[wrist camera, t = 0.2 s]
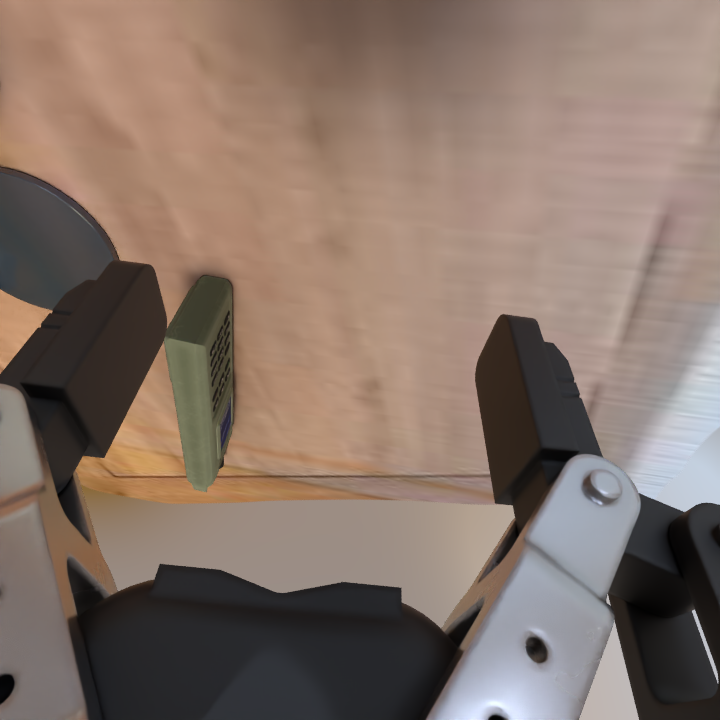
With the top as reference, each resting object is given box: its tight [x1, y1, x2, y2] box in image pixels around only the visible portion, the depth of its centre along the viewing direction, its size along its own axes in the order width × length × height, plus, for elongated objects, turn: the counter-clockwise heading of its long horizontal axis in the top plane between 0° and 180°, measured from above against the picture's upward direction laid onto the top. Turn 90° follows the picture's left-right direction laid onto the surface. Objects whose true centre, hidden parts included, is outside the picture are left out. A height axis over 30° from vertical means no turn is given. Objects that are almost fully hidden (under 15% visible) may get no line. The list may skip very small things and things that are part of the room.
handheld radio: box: [164, 275, 233, 492], centre depth 38 cm, size 7×3×25 cm
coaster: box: [0, 167, 119, 310], centre depth 30 cm, size 11×11×1 cm
